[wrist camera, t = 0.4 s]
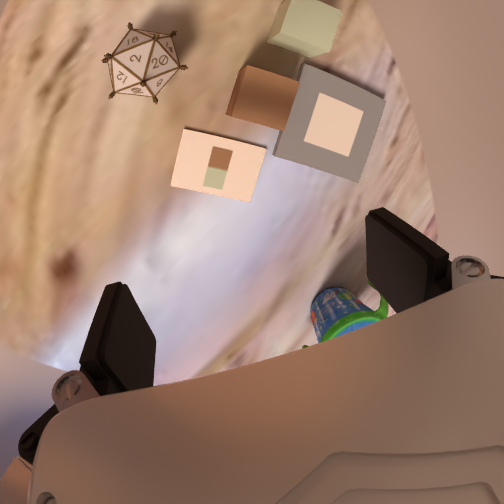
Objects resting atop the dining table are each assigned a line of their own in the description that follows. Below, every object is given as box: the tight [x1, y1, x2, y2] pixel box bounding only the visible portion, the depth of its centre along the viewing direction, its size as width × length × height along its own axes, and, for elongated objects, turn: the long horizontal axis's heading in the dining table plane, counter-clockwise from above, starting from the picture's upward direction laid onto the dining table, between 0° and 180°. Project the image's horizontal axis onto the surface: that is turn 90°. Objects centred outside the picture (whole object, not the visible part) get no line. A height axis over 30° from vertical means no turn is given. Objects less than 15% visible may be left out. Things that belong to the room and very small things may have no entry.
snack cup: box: [302, 281, 388, 349], centre depth 44 cm, size 16×10×10 cm
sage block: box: [267, 0, 342, 58], centre depth 26 cm, size 6×6×6 cm
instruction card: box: [171, 129, 266, 202], centre depth 35 cm, size 7×10×1 cm
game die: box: [101, 22, 188, 104], centre depth 24 cm, size 9×8×10 cm
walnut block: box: [226, 65, 300, 131], centre depth 29 cm, size 6×6×6 cm
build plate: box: [272, 64, 386, 183], centre depth 34 cm, size 12×12×1 cm
